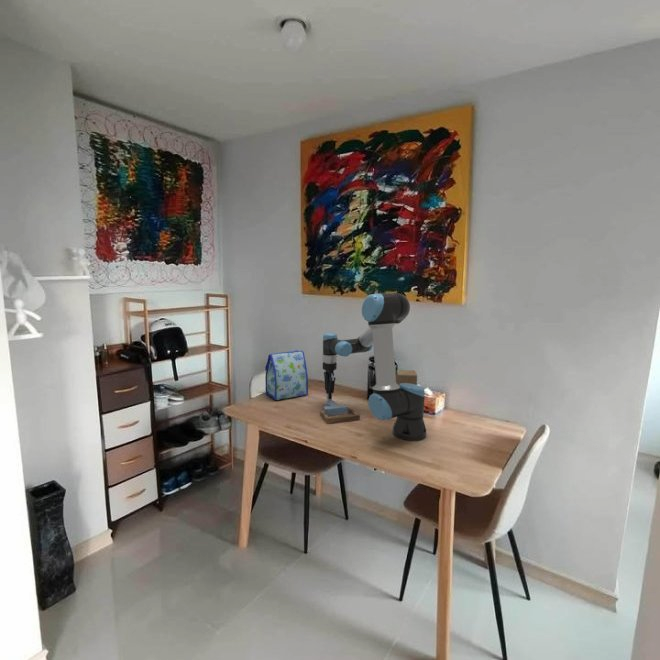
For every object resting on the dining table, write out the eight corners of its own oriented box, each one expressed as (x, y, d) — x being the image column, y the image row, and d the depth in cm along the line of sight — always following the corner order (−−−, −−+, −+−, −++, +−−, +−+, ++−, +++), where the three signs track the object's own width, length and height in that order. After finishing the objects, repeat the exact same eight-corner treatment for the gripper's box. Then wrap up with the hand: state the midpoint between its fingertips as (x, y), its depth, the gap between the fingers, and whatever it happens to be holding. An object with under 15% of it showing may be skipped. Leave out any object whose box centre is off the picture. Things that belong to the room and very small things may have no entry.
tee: (347, 413, 201) (348, 407, 201) (325, 415, 197) (326, 409, 197) (339, 405, 212) (339, 399, 212) (318, 407, 208) (318, 401, 208)
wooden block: (413, 405, 215) (415, 370, 212) (415, 411, 205) (417, 375, 202) (395, 404, 216) (396, 369, 213) (396, 410, 206) (398, 374, 203)
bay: (359, 420, 193) (359, 415, 192) (327, 424, 187) (327, 419, 187) (350, 411, 204) (351, 407, 203) (320, 415, 198) (320, 410, 198)
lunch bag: (295, 388, 241) (295, 347, 237) (309, 395, 228) (310, 352, 224) (263, 394, 229) (262, 351, 225) (275, 402, 216) (275, 357, 211)
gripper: (340, 364, 202) (339, 407, 206) (332, 358, 214) (331, 399, 218) (326, 365, 200) (326, 409, 204) (319, 359, 212) (318, 400, 216)
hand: (329, 404), depth 211 cm, fingers closed
